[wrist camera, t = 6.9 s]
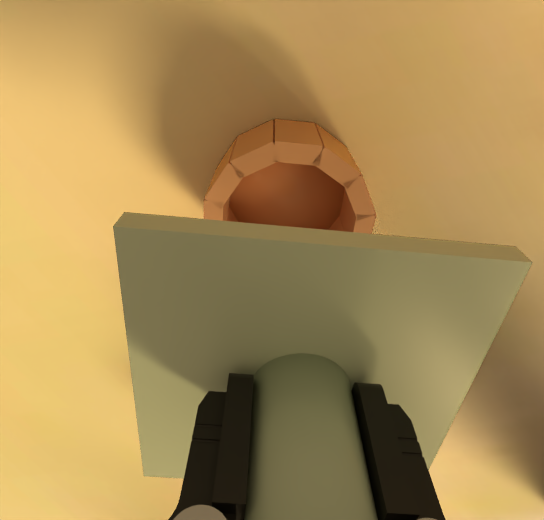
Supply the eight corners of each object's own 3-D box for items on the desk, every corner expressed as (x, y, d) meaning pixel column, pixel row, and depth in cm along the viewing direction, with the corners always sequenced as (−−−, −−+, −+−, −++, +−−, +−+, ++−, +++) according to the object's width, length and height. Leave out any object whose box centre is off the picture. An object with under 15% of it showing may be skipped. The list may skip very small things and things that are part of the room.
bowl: (370, 128, 24) (391, 152, 19) (342, 259, 28) (354, 302, 24) (217, 113, 23) (204, 134, 19) (214, 248, 28) (203, 289, 24)
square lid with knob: (515, 246, 10) (768, 485, 5) (410, 471, 15) (481, 708, 10) (124, 212, 10) (-50, 433, 5) (149, 455, 15) (81, 692, 10)
